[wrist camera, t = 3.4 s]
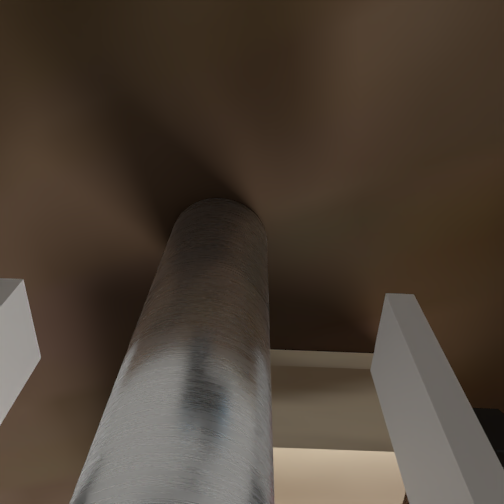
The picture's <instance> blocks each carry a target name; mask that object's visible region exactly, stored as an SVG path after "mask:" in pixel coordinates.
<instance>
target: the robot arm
mask: <svg viewBox="0 0 504 504" xmlns="http://www.w3.org/2000/svg"><path fill="white" fill-rule="evenodd" d="M40 359H41V356H40V351H39V347H38V342H37V338H36V333H35V329H34V324H33V320H32V315H31V311H30V306H29V302H28V297H27V293H26V289H25V284H24V280H23V279H5V278H0V425H1V423H2V421H3V420H4V418H5V416H6V415H7V413H8V411H9V410H10V408H11V406H12V405H13V403H14V401H15V400H16V398H17V396H18V395H19V393H20V392H21V390H22V388H23V387H24V385H25V383H26V382H27V380H28V378H29V377H30V375H31V373H32V372H33V370H34V368H35V367H36V365H37V363H38V362H39V360H40ZM370 371H371V375H372V378H373V381H374V385H375V388H376V392H377V395H378V398H379V402H380V405H381V409H382V412H383V415H384V419H385V422H386V426H387V429H388V432H389V436H390V439H391V443H392V446H393V449H394V453H395V456H396V460H397V463H398V467H399V470H400V473H401V477H402V480H403V484H404V487H405V490H406V494H407V497H408V501H409V504H504V414H503V413H502V412H501V411H500V410H499V409H486V408H472V407H471V405H470V403H469V401H468V399H467V397H466V395H465V393H464V391H463V389H462V387H461V385H460V383H459V381H458V380H457V378H456V376H455V374H454V372H453V370H452V368H451V366H450V364H449V362H448V360H447V358H446V356H445V354H444V352H443V350H442V348H441V346H440V344H439V343H438V341H437V339H436V337H435V335H434V333H433V331H432V329H431V327H430V325H429V323H428V321H427V319H426V317H425V315H424V313H423V311H422V309H421V308H420V306H419V304H418V302H417V300H416V298H415V296H414V294H393V293H386V294H385V299H384V304H383V309H382V314H381V319H380V324H379V329H378V334H377V339H376V344H375V349H374V354H373V359H372V364H371V369H370Z"/></svg>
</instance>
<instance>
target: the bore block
mask: <svg viewBox="0 0 504 504" xmlns="http://www.w3.org/2000/svg"><path fill="white" fill-rule="evenodd" d="M373 354H374V353H352V352H325V351H299V350H273V349H270V361H271V397H272V432H273V467H274V502H275V504H402V503H403V499H404V496H405V493H406V490H405V487H404V484H403V480H402V477H401V473H400V470H399V467H398V463H397V460H396V456H395V453H394V449H393V446H392V443H391V439H390V436H389V432H388V429H387V426H386V422H385V419H384V415H383V412H382V409H381V405H380V402H379V398H378V395H377V392H376V388H375V385H374V381H373V378H372V375H371V371H370V369H371V364H372V359H373Z"/></svg>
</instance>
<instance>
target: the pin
mask: <svg viewBox="0 0 504 504" xmlns="http://www.w3.org/2000/svg"><path fill="white" fill-rule="evenodd" d="M70 504H275V502H274V467H273V432H272V397H271V361H270V326H269V291H268V255H267V236H266V231H265V228H264V226H263V224H262V222H261V221H260V219H259V218H258V216H257V215H256V214H255V213H254V212H253V211H252V210H250V209H249V208H248V207H246V206H245V205H243V204H241V203H239V202H236V201H233V200H230V199H224V198H211V199H205V200H202V201H199V202H196V203H194V204H192V205H191V206H189V207H188V208H187V209H185V210H184V211H183V212H182V213H181V214H180V216H179V217H178V218H177V220H176V222H175V224H174V227H173V229H172V232H171V235H170V237H169V240H168V243H167V245H166V248H165V251H164V253H163V256H162V259H161V261H160V264H159V267H158V269H157V272H156V275H155V277H154V280H153V283H152V285H151V288H150V291H149V293H148V296H147V299H146V301H145V304H144V307H143V309H142V312H141V315H140V317H139V320H138V322H137V325H136V328H135V330H134V333H133V336H132V338H131V341H130V344H129V346H128V349H127V352H126V354H125V357H124V360H123V362H122V365H121V368H120V370H119V373H118V376H117V378H116V381H115V384H114V386H113V389H112V392H111V394H110V397H109V400H108V402H107V405H106V408H105V410H104V413H103V416H102V418H101V421H100V424H99V426H98V429H97V432H96V434H95V437H94V440H93V442H92V445H91V448H90V450H89V453H88V456H87V458H86V461H85V464H84V466H83V469H82V472H81V474H80V477H79V480H78V482H77V485H76V488H75V490H74V493H73V496H72V498H71V501H70Z"/></svg>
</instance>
